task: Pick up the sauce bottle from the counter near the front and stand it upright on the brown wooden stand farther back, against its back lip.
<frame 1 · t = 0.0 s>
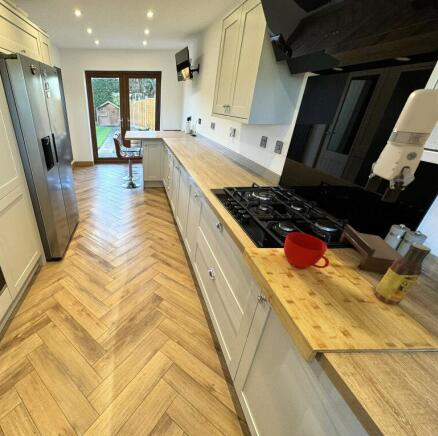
hand: (378, 196, 74), 30 cm above the worktop, tool pointing down, fingers open, 9 cm apart
sauce bottle: (385, 299, 76), on the worktop
brown wooden stand: (366, 258, 96), on the worktop
ceramic cup: (301, 266, 89), on the worktop
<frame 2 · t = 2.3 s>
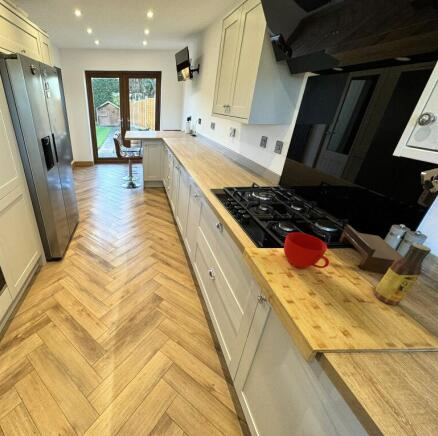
nothing on the worktop moved.
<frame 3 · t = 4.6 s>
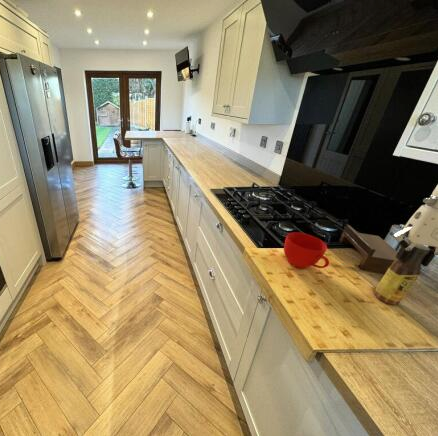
hand: (410, 261, 69), 15 cm above the worktop, tool pointing down, fingers closed on sauce bottle, 4 cm apart
sauce bottle: (385, 298, 76), on the worktop, touching gripper
everything else where it was.
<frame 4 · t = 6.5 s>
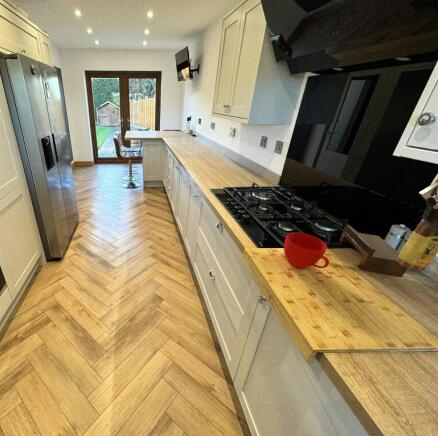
sauce bottle: (409, 266, 70), point 13 cm above the worktop, touching gripper
everything else where it was.
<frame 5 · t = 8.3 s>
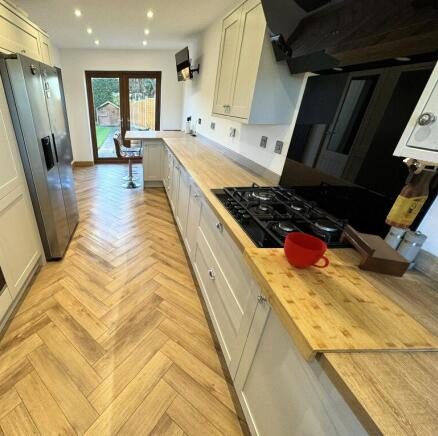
hand: (419, 185, 76), 33 cm above the worktop, tool pointing down, fingers closed on sauce bottle, 4 cm apart
sauce bottle: (396, 225, 83), point 18 cm above the worktop, touching gripper
everything else where it was.
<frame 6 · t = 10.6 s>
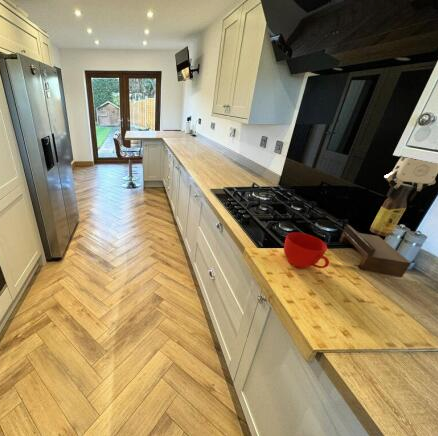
hand: (398, 198, 86), 26 cm above the worktop, tool pointing down, fingers closed on sauce bottle, 4 cm apart
sauce bottle: (379, 233, 93), point 11 cm above the worktop, touching gripper
everything else where it was.
when the fingers open (21 cm above the worktop, at t = 12.1 s): sauce bottle stays where it is, resting on brown wooden stand.
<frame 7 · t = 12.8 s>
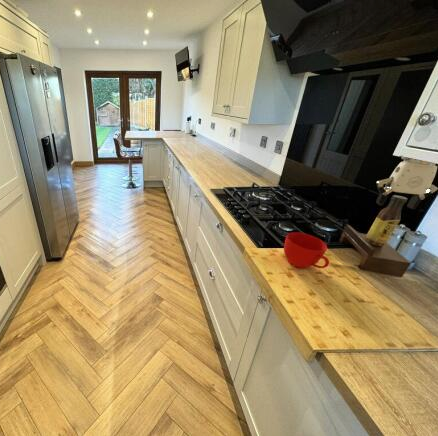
hand: (394, 206, 87), 23 cm above the worktop, tool pointing down, fingers open, 9 cm apart
sauce bottle: (373, 243, 95), point 6 cm above the worktop, touching brown wooden stand
everything else where it was.
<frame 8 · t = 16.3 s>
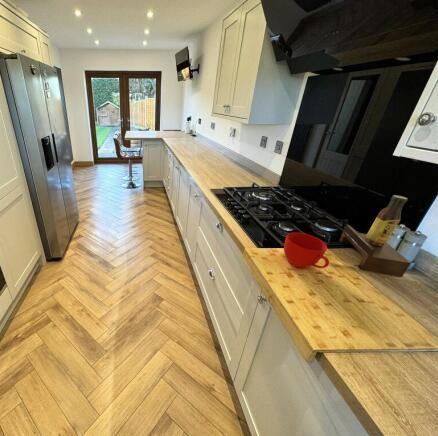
hand: (432, 162, 85), 38 cm above the worktop, tool pointing down, fingers open, 9 cm apart
nothing on the worktop moved.
at the end: sauce bottle inside the target area on the brown wooden stand (2.1 cm from its centre), point 6.3 cm above the brown wooden stand's base; sauce bottle tilted 0°; the gripper is holding nothing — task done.
